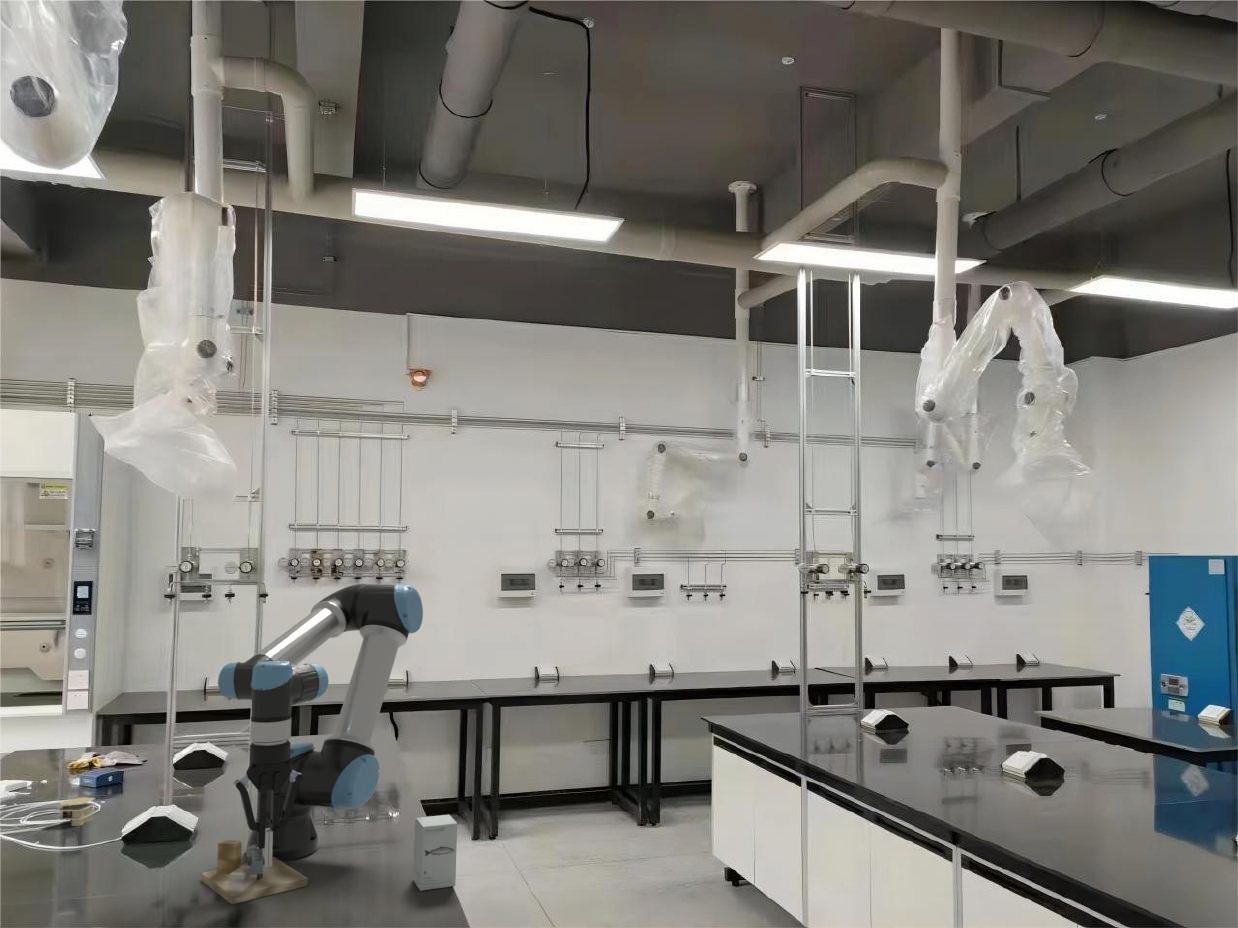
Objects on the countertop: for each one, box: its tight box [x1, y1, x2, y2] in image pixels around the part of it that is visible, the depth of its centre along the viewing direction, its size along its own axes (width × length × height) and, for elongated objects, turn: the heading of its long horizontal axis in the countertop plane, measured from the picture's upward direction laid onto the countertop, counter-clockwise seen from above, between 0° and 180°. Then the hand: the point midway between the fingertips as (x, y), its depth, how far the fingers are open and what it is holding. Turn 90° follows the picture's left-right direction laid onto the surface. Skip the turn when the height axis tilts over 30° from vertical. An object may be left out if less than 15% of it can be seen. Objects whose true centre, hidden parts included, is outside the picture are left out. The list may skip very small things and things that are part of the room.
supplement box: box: [412, 814, 458, 892], centre depth 189 cm, size 7×7×13 cm
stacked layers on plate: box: [58, 796, 96, 827], centre depth 228 cm, size 10×9×6 cm
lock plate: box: [201, 839, 309, 905], centre depth 188 cm, size 15×17×8 cm
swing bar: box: [245, 845, 263, 875], centre depth 183 cm, size 11×4×2 cm, turn 23°
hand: (267, 864), depth 180 cm, fingers closed
